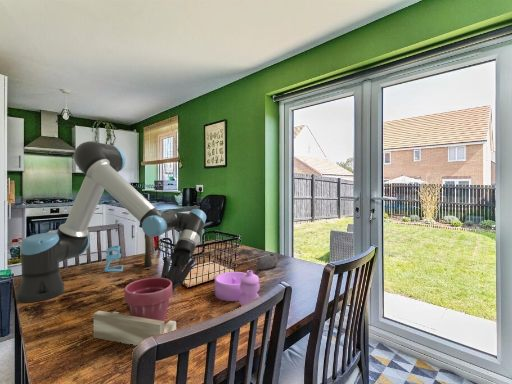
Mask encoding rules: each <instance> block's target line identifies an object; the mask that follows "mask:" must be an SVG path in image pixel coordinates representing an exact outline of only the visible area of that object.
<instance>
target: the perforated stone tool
mask: <svg viewBox="0 0 512 384" xmlns="http://www.w3.org/2000/svg"><path fill="white" fill-rule="evenodd" d="M278 256H279V255H278V253H276V252H272V253H270V254H266V255H264V256H262V257H260V258H259V259H258V261H257V262H256V267H257V269H258V270H262V271H263V270H268V269H269V270H270V269H272V268H274V267H276V266H277V264H278V263H279V260H278Z"/></svg>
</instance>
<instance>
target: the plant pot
mask: <svg viewBox="0 0 512 384" xmlns="http://www.w3.org/2000/svg"><path fill="white" fill-rule="evenodd" d="M172 296H173V294H172V282H171V281H170V280H169V279H166V278H161V277H147V278H142V279H139V280H137V279H136V280H134V281H132V282H130V283H128V284H127V285H126V286H125V287H124V301H125V303H126V304H128V305H127V306H128V308H129V313H130V316H135V317H141V318H147V319H153V320H159V321H164V323H165V322H166V315H167V311H168V307H169V302H170V299H171V297H172Z"/></svg>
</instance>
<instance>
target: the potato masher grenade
mask: <svg viewBox="0 0 512 384" xmlns="http://www.w3.org/2000/svg"><path fill="white" fill-rule="evenodd" d="M138 228H139V229H140V228H142V223H141V222H139V225H138ZM151 241H152V237H151V236H148V235H146V234H145V233H144V243H145V244H144V252H145V253H144V263H143V265H144V267H145V268H148V267H151V266H152V253H151V252H152V251H151V250H152V249H151V246H152V245H151Z"/></svg>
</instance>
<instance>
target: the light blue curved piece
mask: <svg viewBox="0 0 512 384" xmlns="http://www.w3.org/2000/svg"><path fill="white" fill-rule="evenodd" d="M111 252H117V253H115V254H110V253H111ZM105 253H106V257H105V260H106V261H107V262H106V264H105V267H104V271H103V272H105V273H106V272H123V270H124V264H123V265H121V264H119V265H115V266H110V264H111V263H112V261H115V260H118V259H119V260H120V259H121V257H122V253H121V246H120V245H114V246H113V245H112V246H110V247H108V248H107V249H106V250H105Z"/></svg>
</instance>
